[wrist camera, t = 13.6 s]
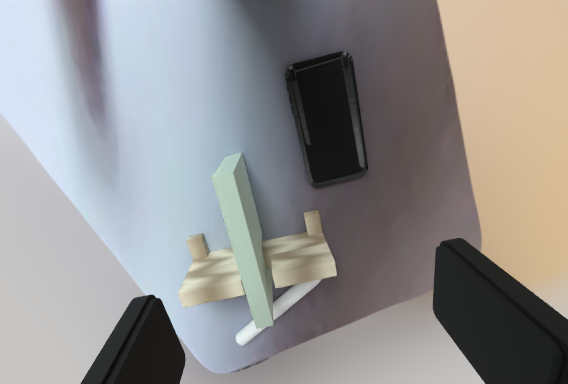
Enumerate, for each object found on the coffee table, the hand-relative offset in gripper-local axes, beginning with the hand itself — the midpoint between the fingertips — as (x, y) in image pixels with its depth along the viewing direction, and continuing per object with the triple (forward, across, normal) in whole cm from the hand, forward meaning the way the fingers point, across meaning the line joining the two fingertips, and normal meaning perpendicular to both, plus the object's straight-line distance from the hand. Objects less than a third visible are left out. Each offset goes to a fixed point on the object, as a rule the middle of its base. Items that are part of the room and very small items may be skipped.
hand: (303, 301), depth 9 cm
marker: (+26, +3, +24) cm, 35 cm away
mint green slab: (+26, +5, +9) cm, 28 cm away
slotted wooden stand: (+26, +5, +14) cm, 30 cm away
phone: (+27, -7, -1) cm, 28 cm away
